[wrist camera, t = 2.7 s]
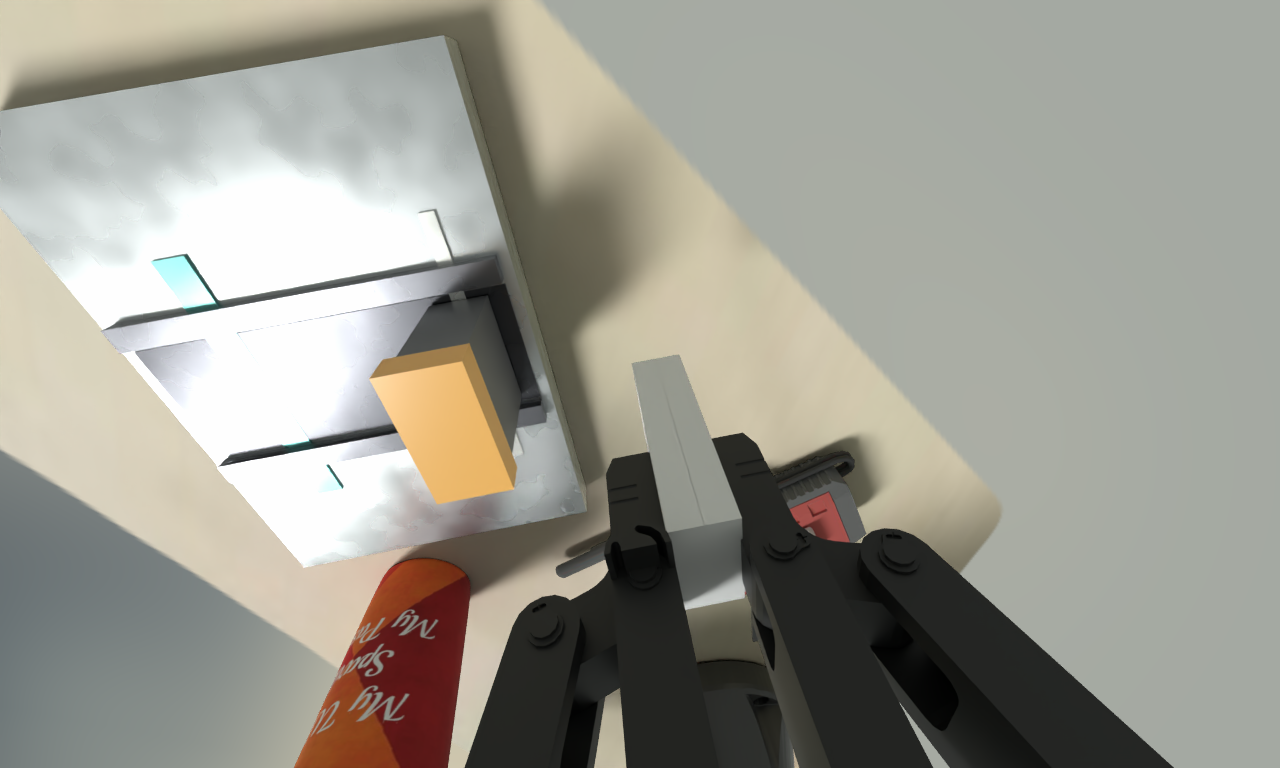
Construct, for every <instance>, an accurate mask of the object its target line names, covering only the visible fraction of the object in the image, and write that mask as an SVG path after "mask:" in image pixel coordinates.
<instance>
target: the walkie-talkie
mask: <svg viewBox="0 0 1280 768" xmlns="http://www.w3.org/2000/svg"><path fill="white" fill-rule="evenodd" d="M840 462H843V463H842V464H841V465H840V466H837V467H834V465H835V464H837V463H840ZM854 463H855V461H854V459H853V458H852V457H851V455H850V454H849V453H848V452H845V451H840V452H835V453H832V454H829V455H827V456H825V457H815V458H814V459H812V460H807V462H805V463H803V464H802V463H801V464H799V466H796V467H792V468H791V469H790V470H788V471H783V473H781V474H779V475H778V474H776V475H775V476H774V479H775V481H776V483H777V485H778V487H779V489H780V491H781V493H782V495H783V497H784V499H785V501H786V503H787V505H788V507H789V509H790V511H791V513H792V515H793V517H794V518H795V520H796V521H797V523H798V524H799V525H800V526H801V527H803V528H804V529H806V530H807V531H808V532H809V533H811V534H813V535H815V536H817V537H820V538H823V539H827V540H832V541H840V542H851V543H854V542H857V541H858V540H859V539H860V538H862V537H863V536H864V535H865V534H866V532H865V529H864V526H863V524H862V521H861V518H860V516H859V513H858V510H857V508H856V505H855V502H854V500H853V497H852V494H851V492H850V490H849V488H848V486H847V484H846V483H845V481H844V480H843V478H842V477H843V476H845V475H847V474H848V473H850V472H851V471H852V470H853V468H854ZM606 542H607V541H605V542H603V543H601V544H599V545H597V546H594V547H592V548H591V550H590V551H588V552H586V553H584V554H582V555H580V556H578V557H576V558H573V559H571V560H569V561H567V562H565V563H563V564H561V565H558V566H557V567H556V573H557V575H558V576H559V577H562V578H565V577H568V576H570V575H572V574H574V573H576V572H579V571H581V570H583V569H585V568H587V567H590V566H592V565H594V564H596V563H598V562H601V561H603V560H605V557H604V550H605V544H606ZM745 594H747V593H746V590H745Z"/></svg>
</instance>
